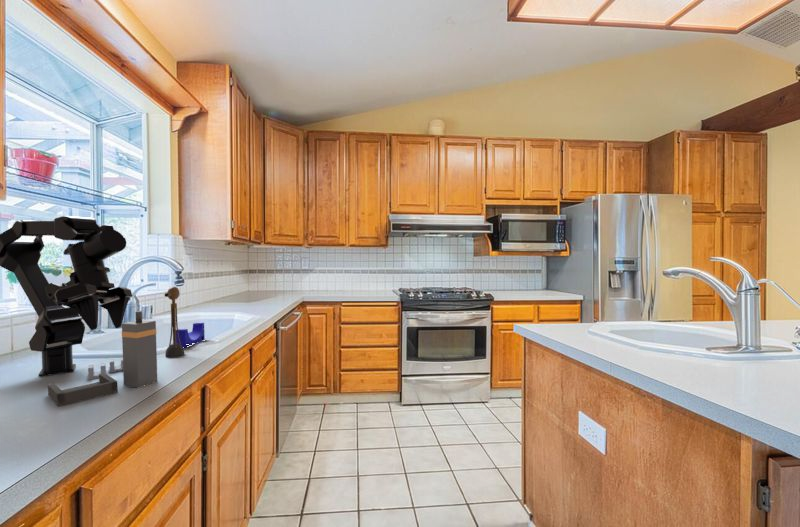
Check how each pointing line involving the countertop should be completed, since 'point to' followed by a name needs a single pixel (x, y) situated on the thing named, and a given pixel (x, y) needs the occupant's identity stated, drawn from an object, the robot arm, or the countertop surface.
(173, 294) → the wooden tabletop sculpture
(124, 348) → the connector
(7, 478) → the countertop surface
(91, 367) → the clips
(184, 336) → the cable clip
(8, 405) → the countertop surface
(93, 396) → the dark grey square tray
